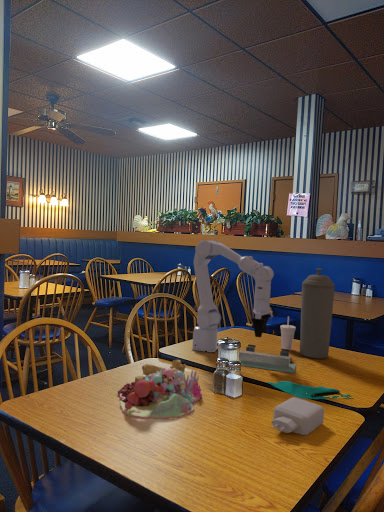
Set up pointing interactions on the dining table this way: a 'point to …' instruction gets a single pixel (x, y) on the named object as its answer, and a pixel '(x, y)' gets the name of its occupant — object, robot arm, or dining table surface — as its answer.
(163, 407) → the coral reef model
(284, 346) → the smoothie
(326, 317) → the canister
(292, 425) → the charger
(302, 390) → the cloth
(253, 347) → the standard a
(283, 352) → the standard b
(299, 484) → the dining table surface
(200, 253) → the robot arm
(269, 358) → the rail
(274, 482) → the dining table surface
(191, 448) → the dining table surface
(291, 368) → the mat
